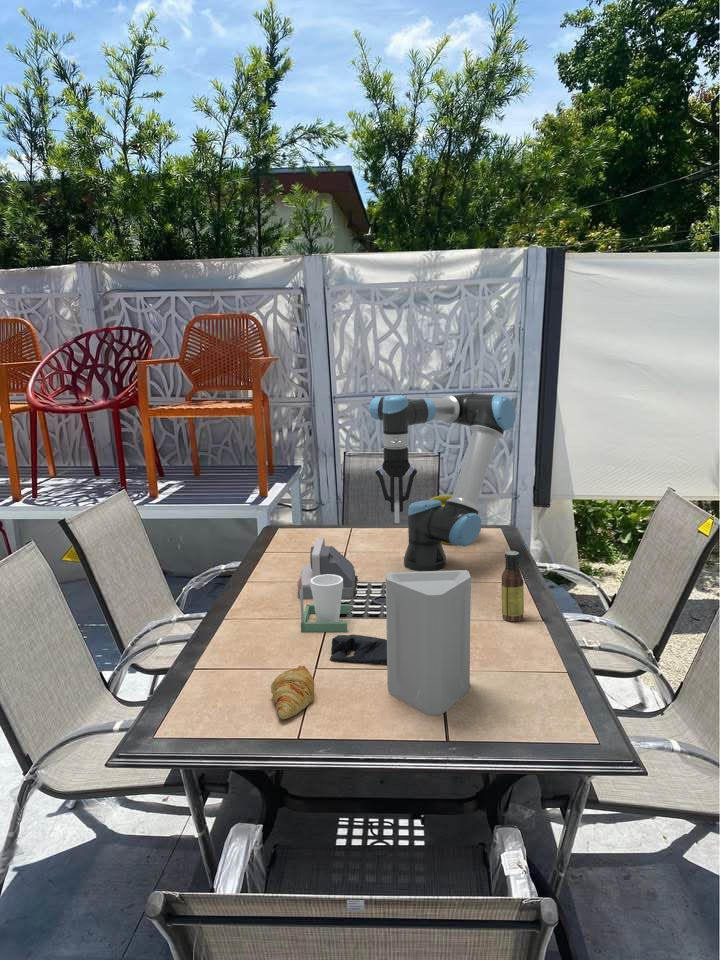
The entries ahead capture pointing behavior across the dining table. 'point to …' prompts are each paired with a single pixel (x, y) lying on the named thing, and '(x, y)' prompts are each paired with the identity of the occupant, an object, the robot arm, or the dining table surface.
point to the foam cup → (327, 597)
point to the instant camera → (328, 569)
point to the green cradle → (319, 626)
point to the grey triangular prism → (428, 638)
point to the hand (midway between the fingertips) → (397, 521)
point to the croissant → (292, 691)
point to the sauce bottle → (512, 589)
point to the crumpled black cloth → (359, 649)
